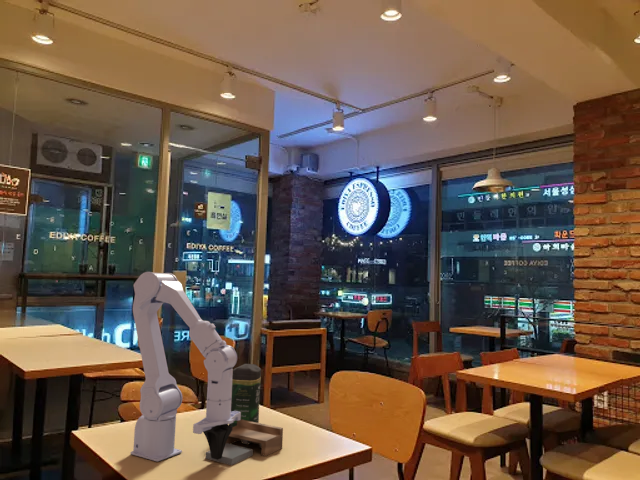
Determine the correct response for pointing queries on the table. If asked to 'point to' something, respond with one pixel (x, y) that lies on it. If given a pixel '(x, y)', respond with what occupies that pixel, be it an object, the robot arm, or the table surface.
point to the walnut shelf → (257, 435)
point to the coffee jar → (246, 392)
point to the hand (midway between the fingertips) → (216, 458)
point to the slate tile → (232, 454)
